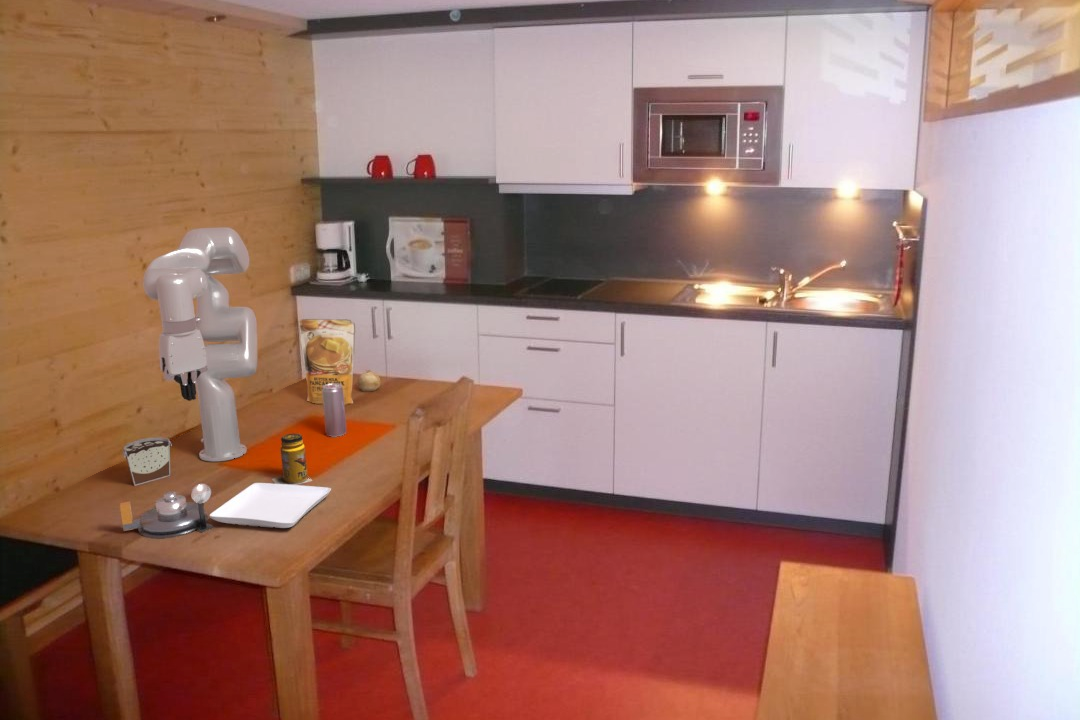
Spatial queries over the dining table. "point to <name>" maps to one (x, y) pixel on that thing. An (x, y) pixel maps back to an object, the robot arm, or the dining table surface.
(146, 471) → the food container
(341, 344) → the pancake mix bag
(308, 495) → the salad plate
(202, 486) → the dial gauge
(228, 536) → the dining table surface
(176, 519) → the cover
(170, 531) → the turntable
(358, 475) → the dining table surface
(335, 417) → the beverage can
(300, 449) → the condiment
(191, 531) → the turntable base
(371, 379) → the onion
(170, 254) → the robot arm
